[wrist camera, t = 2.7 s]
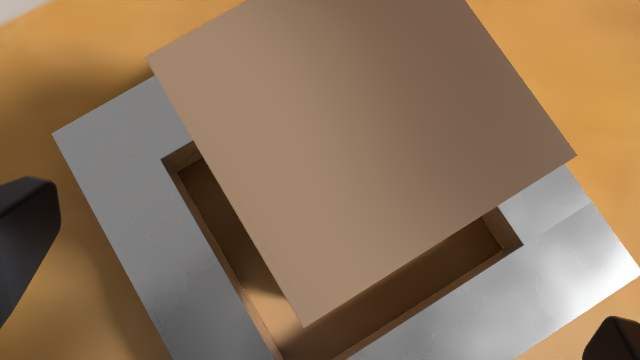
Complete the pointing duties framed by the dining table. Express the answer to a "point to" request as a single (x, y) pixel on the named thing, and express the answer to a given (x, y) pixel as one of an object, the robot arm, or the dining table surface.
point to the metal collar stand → (382, 345)
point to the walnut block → (355, 132)
